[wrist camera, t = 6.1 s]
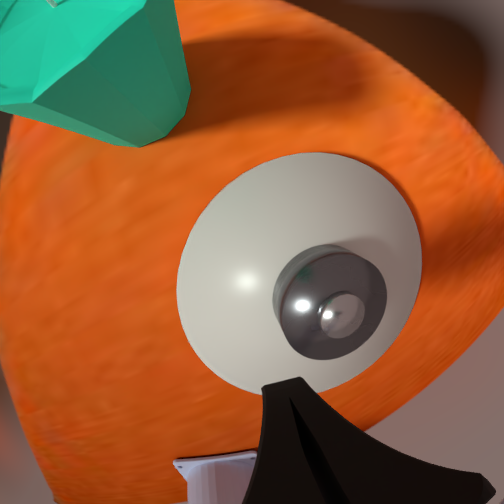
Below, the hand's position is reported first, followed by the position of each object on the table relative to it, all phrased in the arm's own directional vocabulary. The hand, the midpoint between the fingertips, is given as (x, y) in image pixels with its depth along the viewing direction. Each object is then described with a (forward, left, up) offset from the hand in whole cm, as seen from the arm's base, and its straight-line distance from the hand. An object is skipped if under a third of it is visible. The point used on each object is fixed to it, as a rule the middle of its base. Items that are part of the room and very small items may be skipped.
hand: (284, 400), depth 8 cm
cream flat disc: (0, -4, -8) cm, 9 cm away
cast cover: (0, -4, -7) cm, 8 cm away
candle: (+13, +4, -9) cm, 16 cm away
